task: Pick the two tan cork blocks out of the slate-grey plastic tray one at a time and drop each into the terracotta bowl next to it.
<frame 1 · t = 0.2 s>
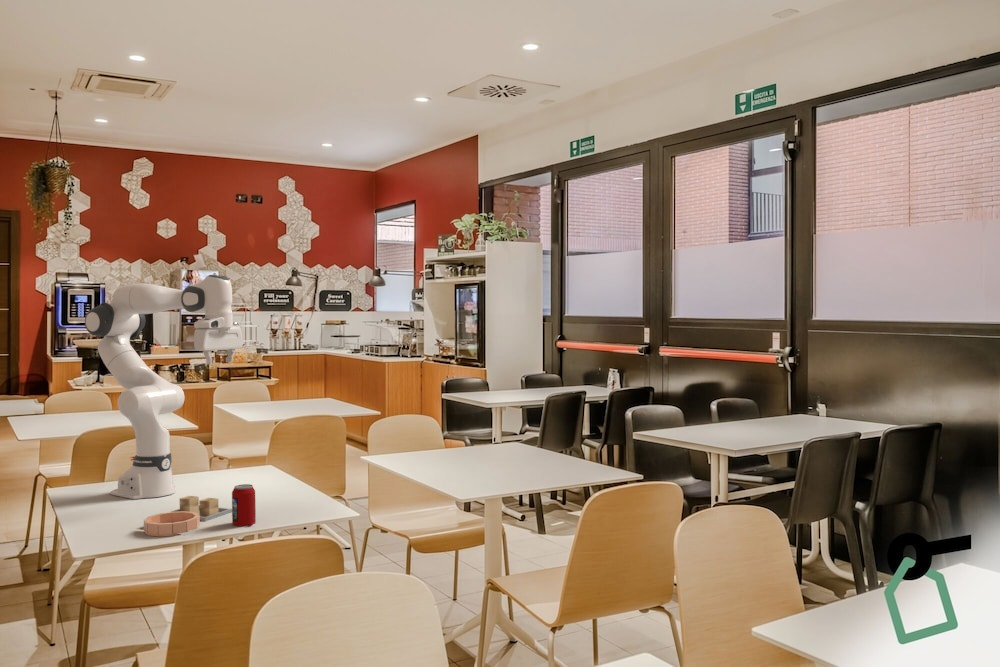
hand: (219, 363, 276), 47 cm above the table, fingers open, 8 cm apart
bowl: (172, 529, 241), on the table
tray: (199, 516, 257), on the table
block left: (189, 513, 259), point 1 cm above the table, touching tray
block right: (209, 515, 256), point 1 cm above the table, touching tray
beverage can: (244, 526, 246), on the table
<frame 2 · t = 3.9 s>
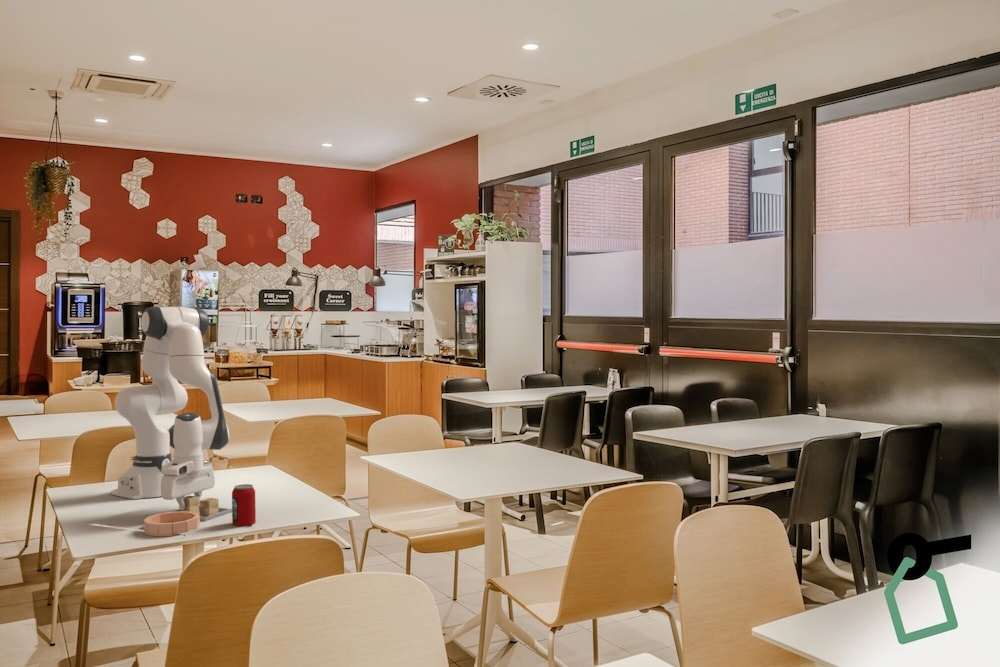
hand: (189, 507, 259), 2 cm above the table, fingers closed on block left, 4 cm apart
block left: (189, 513, 259), point 1 cm above the table, touching gripper, tray
everything else where it was.
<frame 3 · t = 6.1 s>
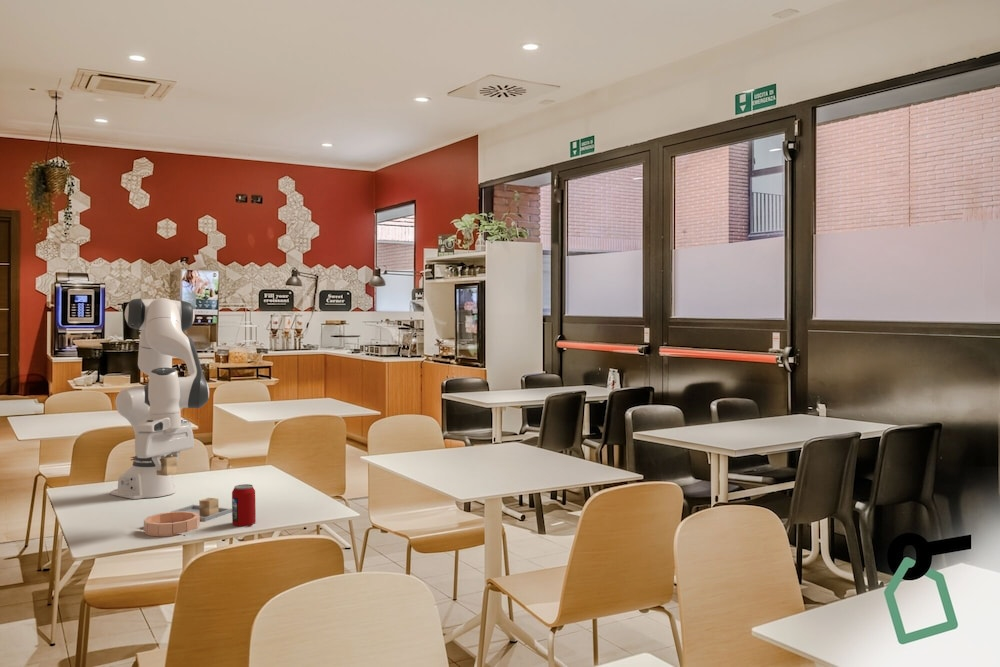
hand: (166, 468, 242), 18 cm above the table, fingers closed on block left, 4 cm apart
block left: (166, 474, 242), point 16 cm above the table, touching gripper
everything else where it was.
when the fingers open (4 cm above the table, at t = 8.6 s): block left drops 2 cm, resting on bowl.
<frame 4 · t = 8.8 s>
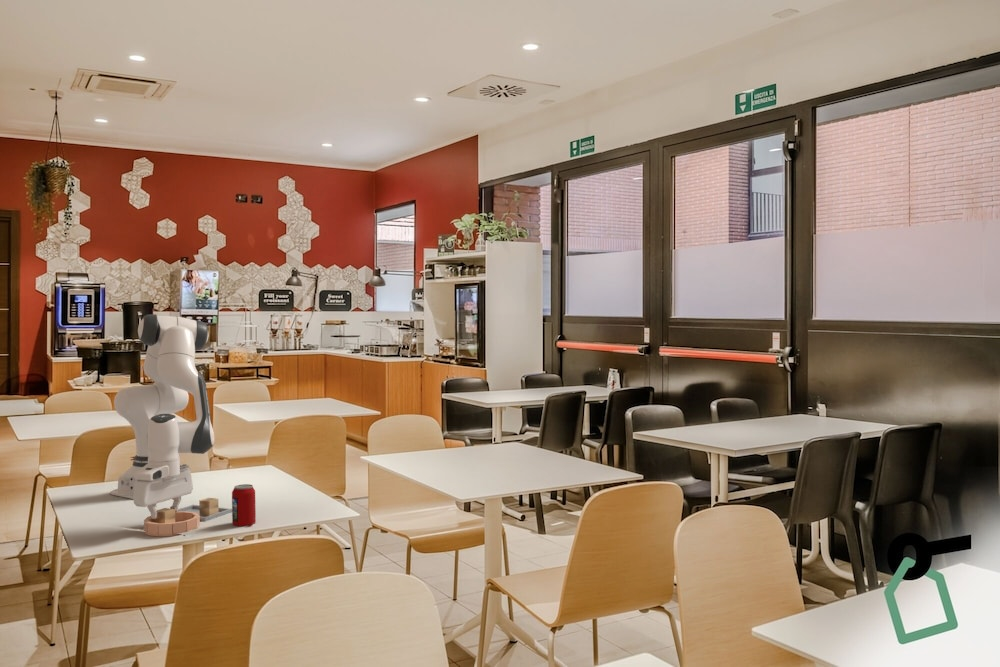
hand: (164, 515, 242), 4 cm above the table, fingers open, 6 cm apart
block left: (165, 526, 242), point 1 cm above the table, touching bowl
everything else where it was.
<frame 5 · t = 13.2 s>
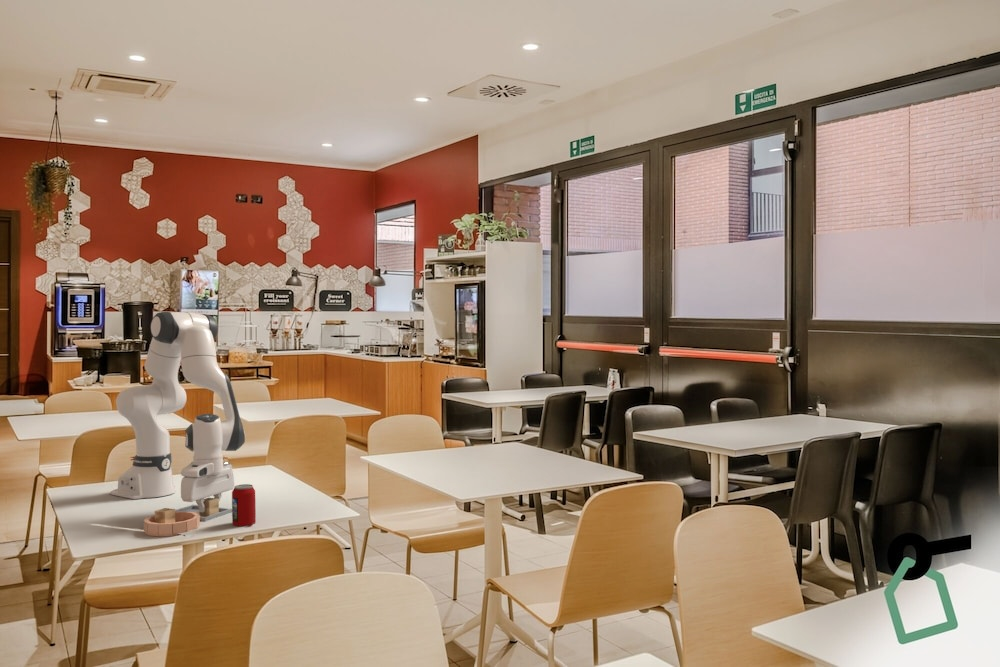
hand: (209, 509, 256), 2 cm above the table, fingers closed on block right, 4 cm apart
block right: (209, 515, 256), point 1 cm above the table, touching gripper, tray
everything else where it was.
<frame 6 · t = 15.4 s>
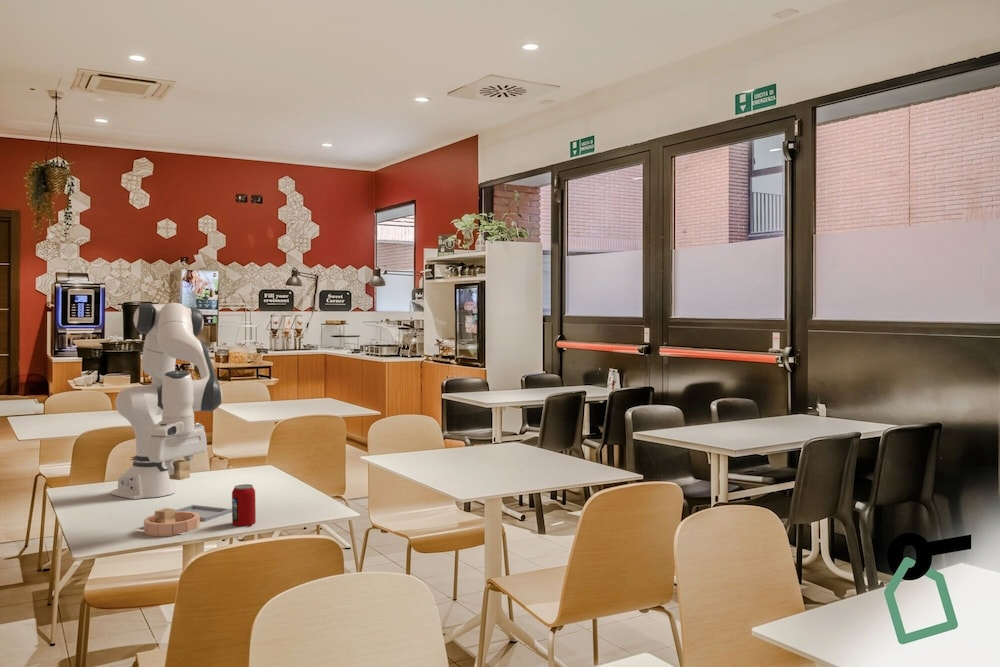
hand: (179, 472, 240), 17 cm above the table, fingers closed on block right, 4 cm apart
block right: (179, 478, 240), point 16 cm above the table, touching gripper
everything else where it was.
when the fingers open (4 cm above the table, at t = 17.7 s): block right drops 2 cm, resting on bowl.
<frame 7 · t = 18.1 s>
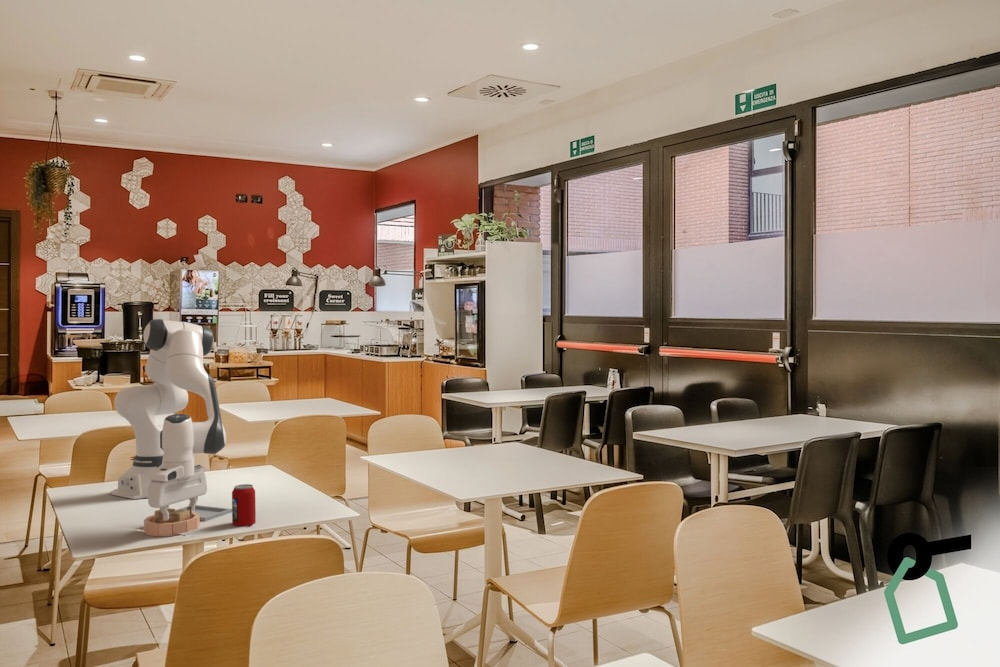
hand: (179, 516, 240), 4 cm above the table, fingers open, 8 cm apart
block right: (179, 528, 240), point 1 cm above the table, touching bowl
everything else where it was.
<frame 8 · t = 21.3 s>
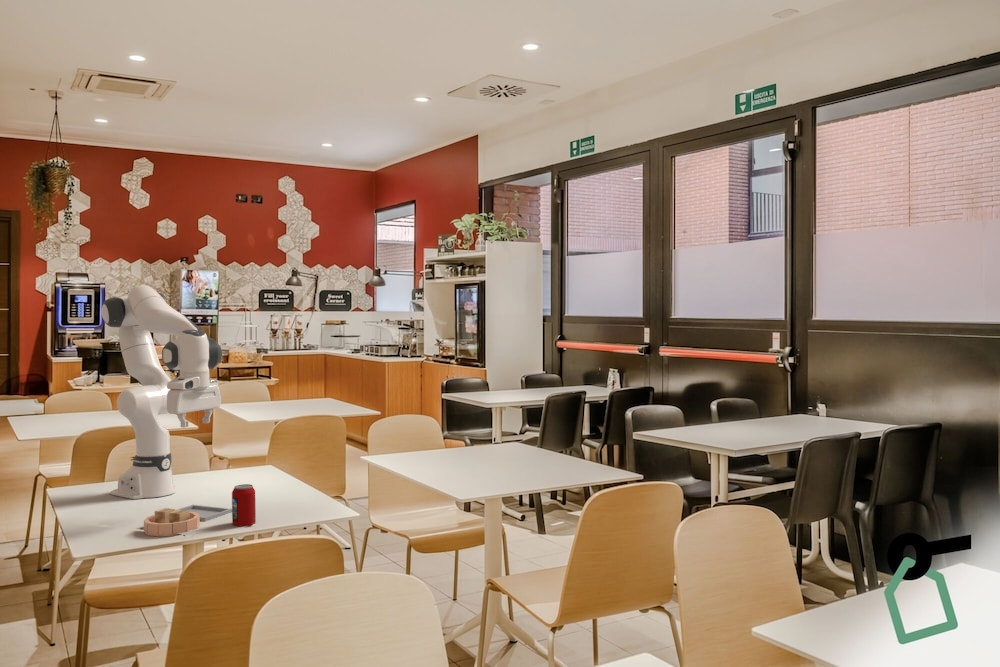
hand: (195, 425, 255), 29 cm above the table, fingers open, 8 cm apart
nothing on the table moved.
at the end: block left inside the target area on the bowl (2.7 cm from its centre), point 0.6 cm above the bowl's base; block right inside the target area on the bowl (2.9 cm from its centre), point 0.6 cm above the bowl's base; the gripper is holding nothing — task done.
